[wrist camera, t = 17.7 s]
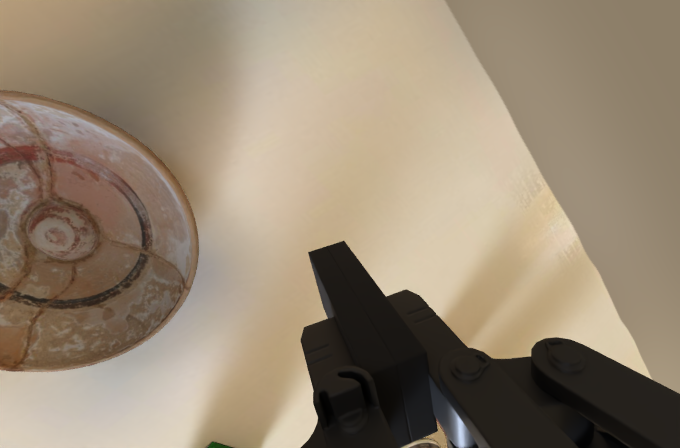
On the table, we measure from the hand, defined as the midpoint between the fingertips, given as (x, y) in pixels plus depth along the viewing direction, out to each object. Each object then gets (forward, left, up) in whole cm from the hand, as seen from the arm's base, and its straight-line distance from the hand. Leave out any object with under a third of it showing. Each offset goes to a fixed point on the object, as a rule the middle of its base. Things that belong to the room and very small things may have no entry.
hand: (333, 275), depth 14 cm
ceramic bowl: (+15, -13, -23) cm, 30 cm away
